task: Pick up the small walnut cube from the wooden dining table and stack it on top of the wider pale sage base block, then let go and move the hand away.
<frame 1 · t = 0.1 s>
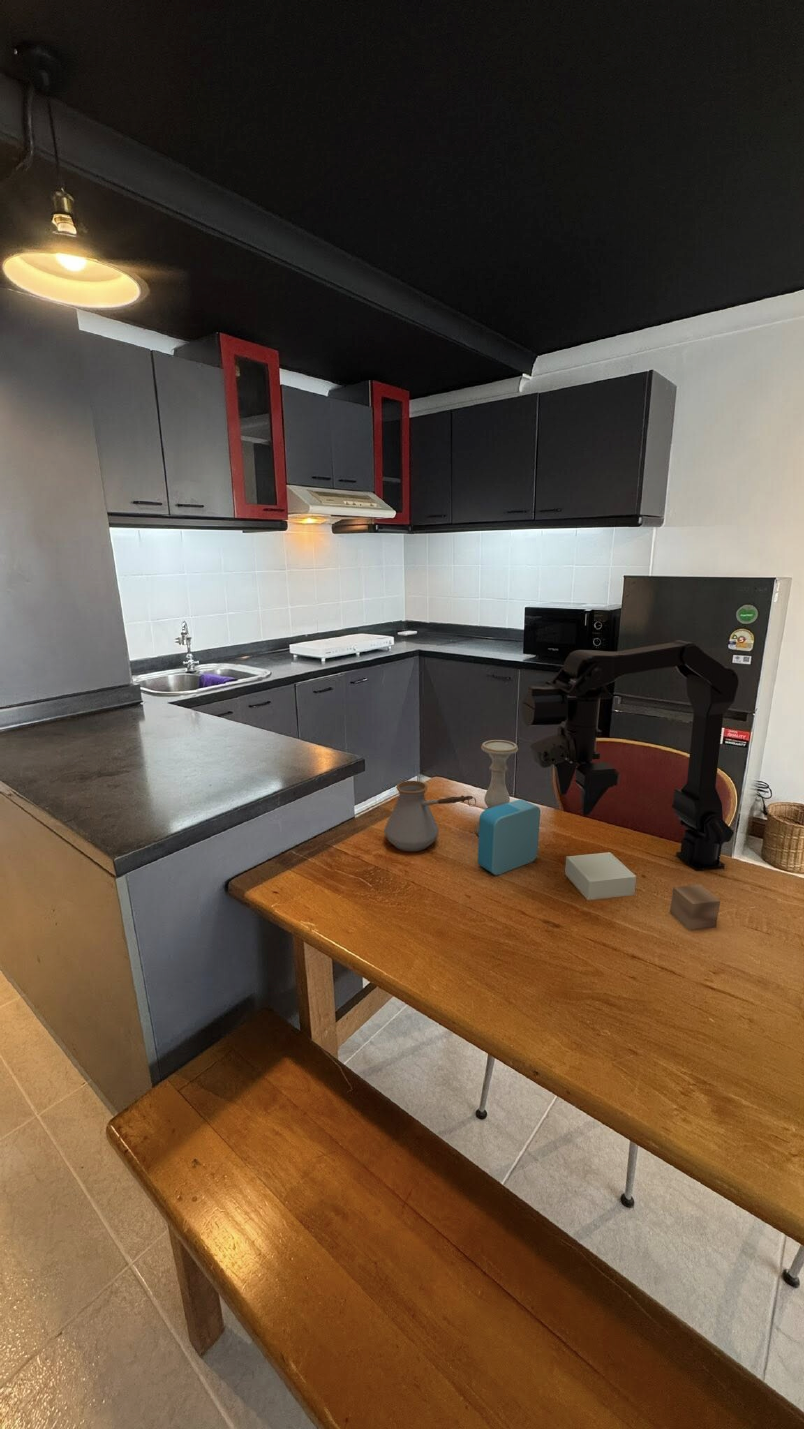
hand: (573, 804, 108), 15 cm above the table, fingers open, 9 cm apart
base block: (598, 885, 109), on the table
walnut cube: (692, 920, 98), on the table
candle holder: (495, 833, 128), on the table
blue rounded slab: (507, 864, 116), on the table
coffee pot: (429, 851, 121), on the table
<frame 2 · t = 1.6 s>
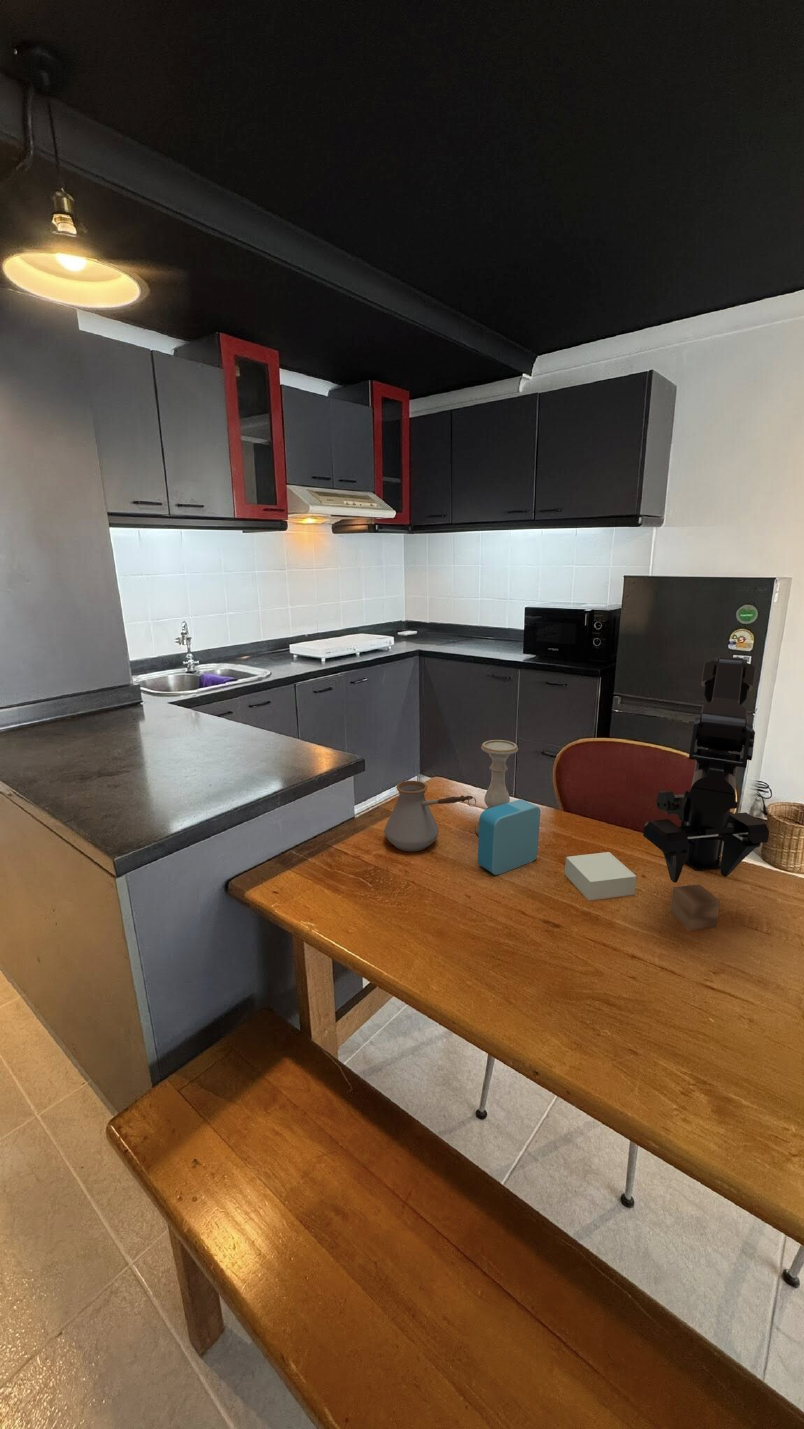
hand: (698, 878, 96), 8 cm above the table, fingers open, 9 cm apart
nothing on the table moved.
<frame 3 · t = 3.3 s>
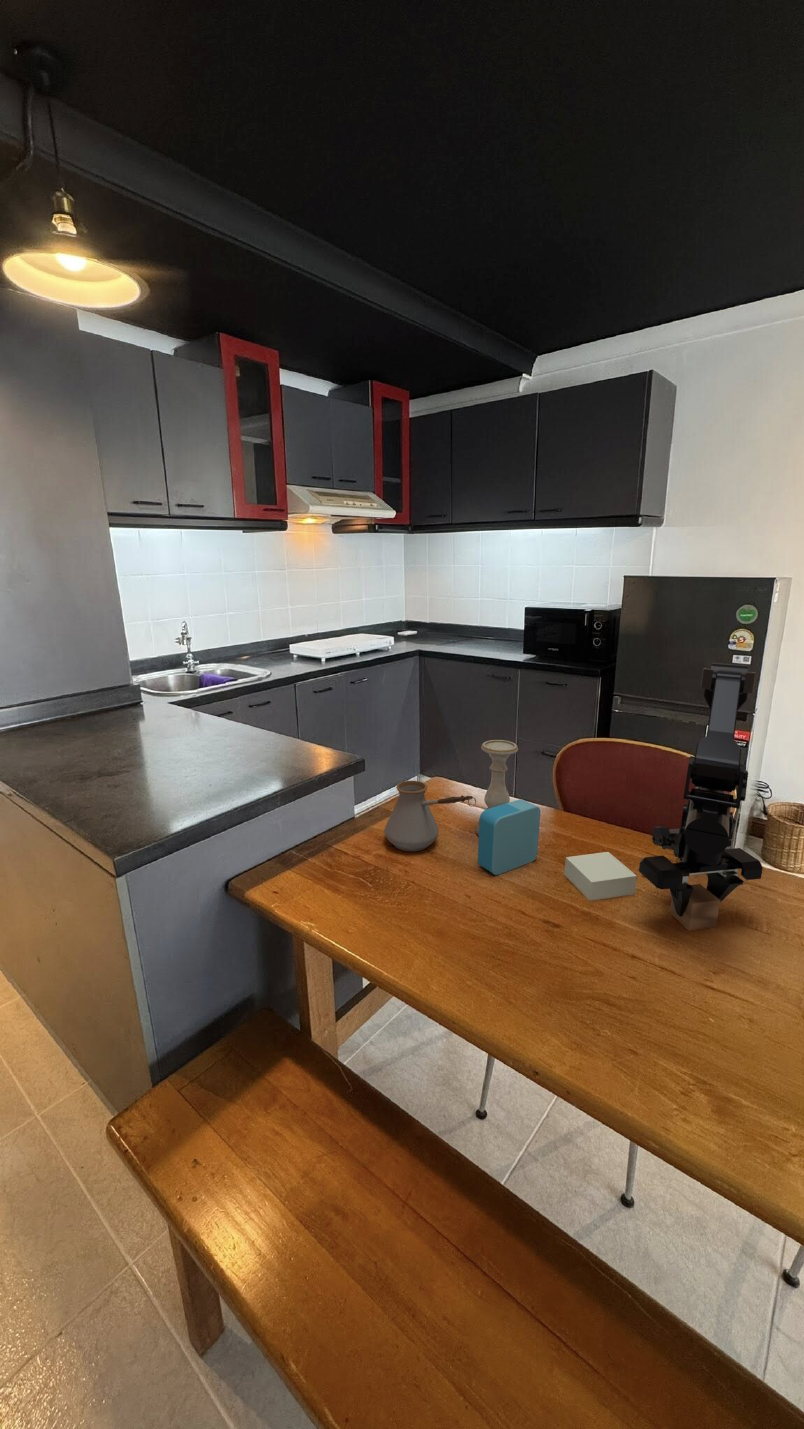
hand: (693, 913, 98), 1 cm above the table, fingers closed on walnut cube, 5 cm apart
walnut cube: (692, 919, 98), on the table, touching gripper
everything else where it was.
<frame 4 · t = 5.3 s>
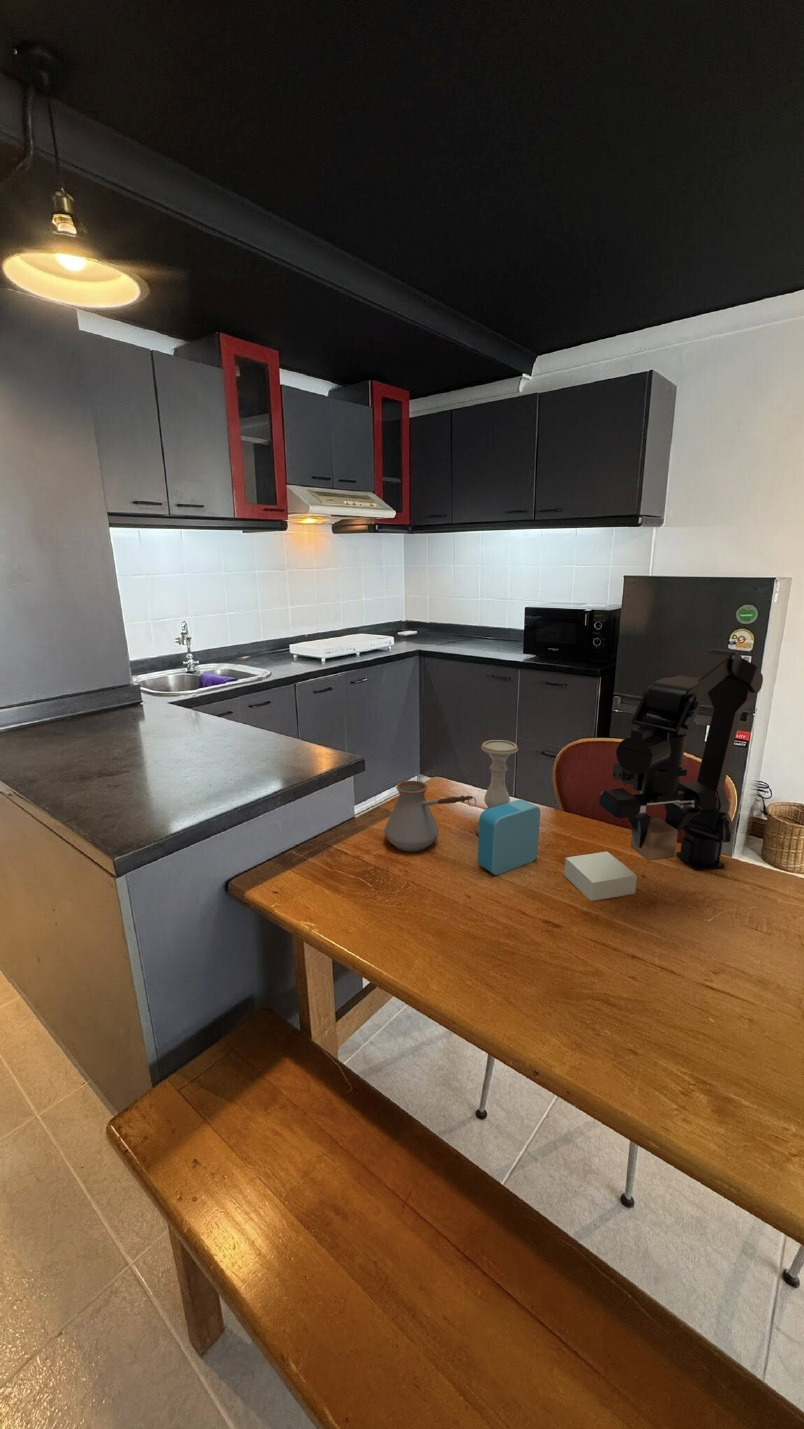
hand: (652, 845, 100), 11 cm above the table, fingers closed on walnut cube, 5 cm apart
walnut cube: (652, 852, 100), point 10 cm above the table, touching gripper
everything else where it was.
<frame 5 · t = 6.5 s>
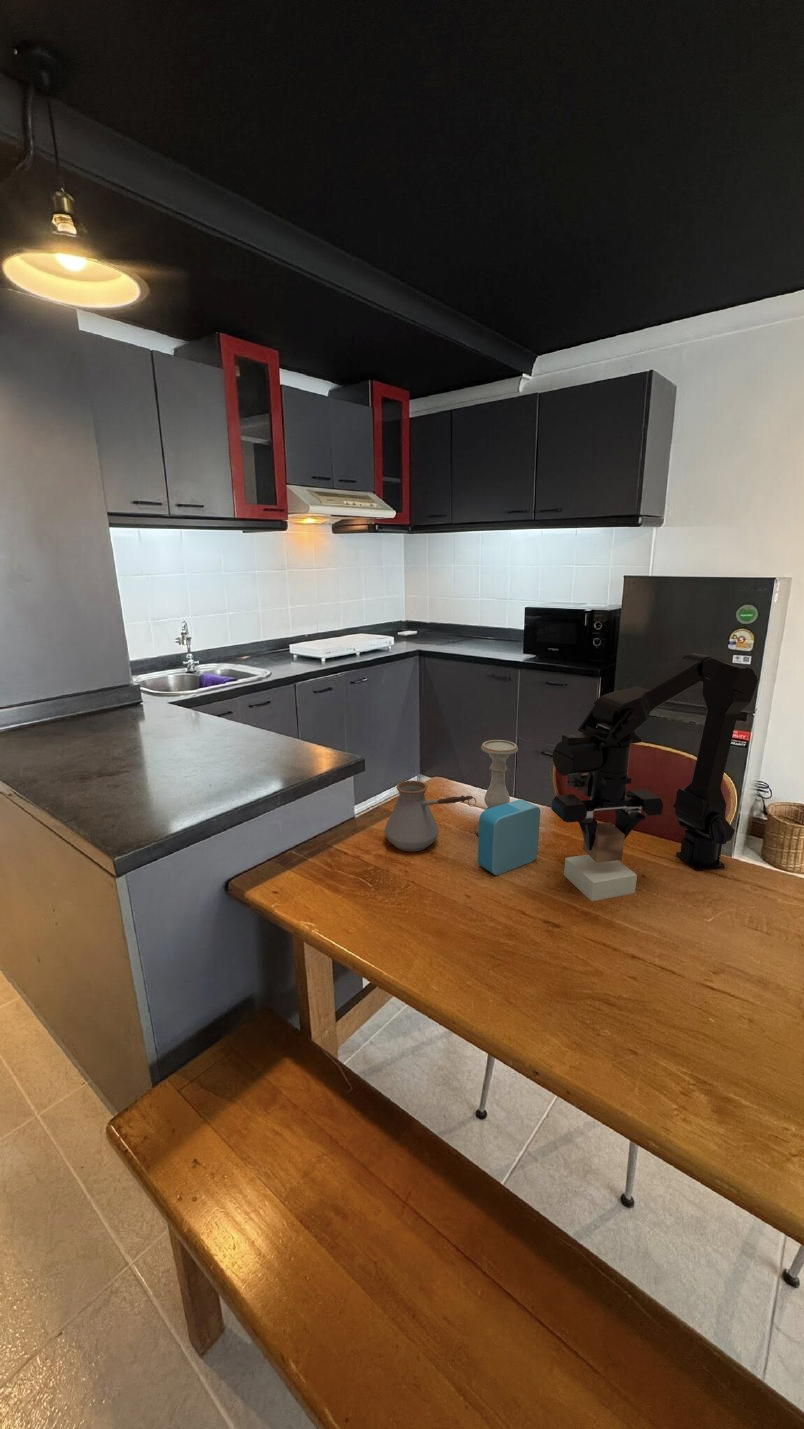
hand: (602, 848, 107), 7 cm above the table, fingers closed on walnut cube, 5 cm apart
walnut cube: (602, 854, 107), point 6 cm above the table, touching gripper
everything else where it was.
when the fingers open (6 cm above the table, at t = 7.5 s): walnut cube drops 1 cm, point 4 cm above the table.
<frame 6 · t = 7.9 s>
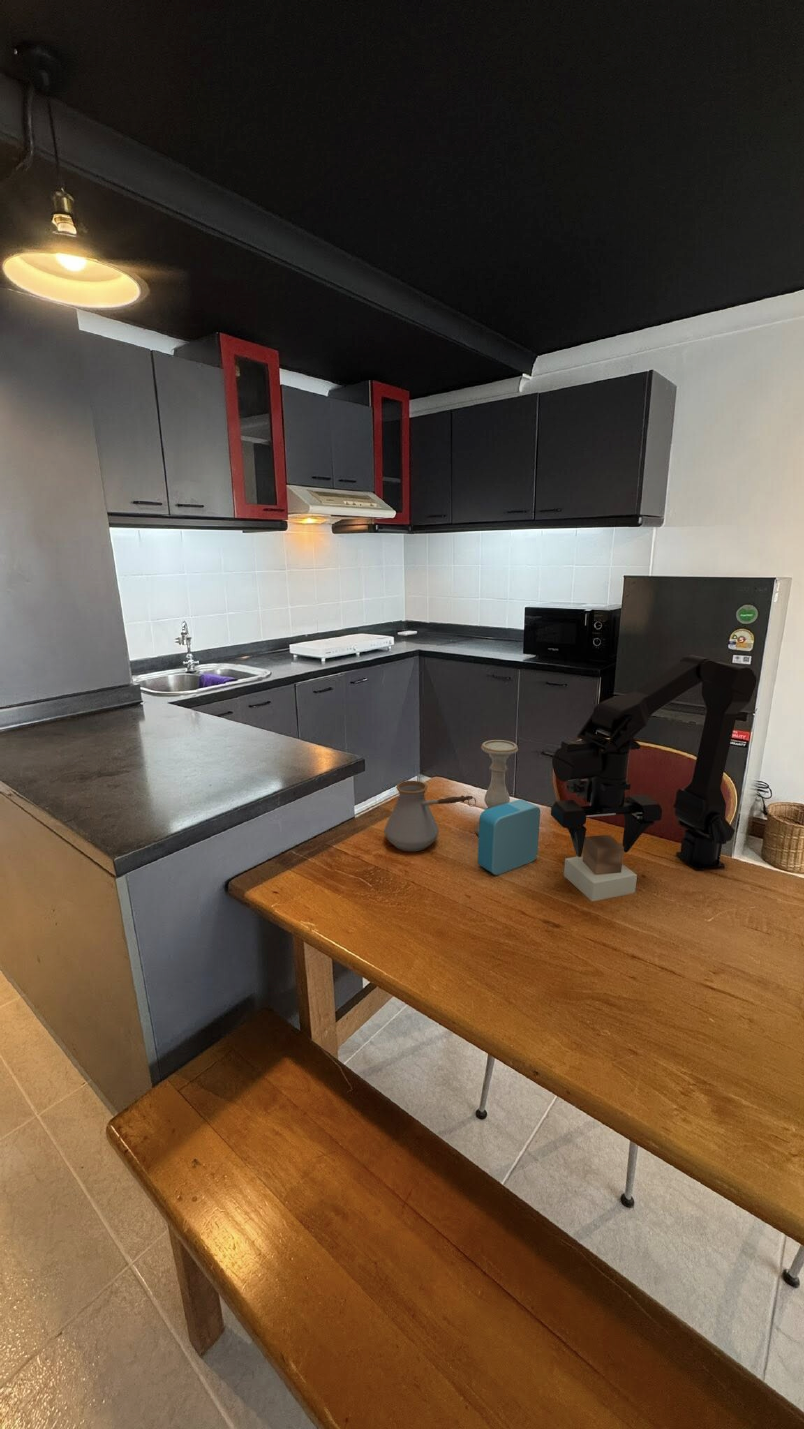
hand: (601, 853, 107), 6 cm above the table, fingers open, 9 cm apart
walnut cube: (601, 866, 107), point 4 cm above the table
everything else where it was.
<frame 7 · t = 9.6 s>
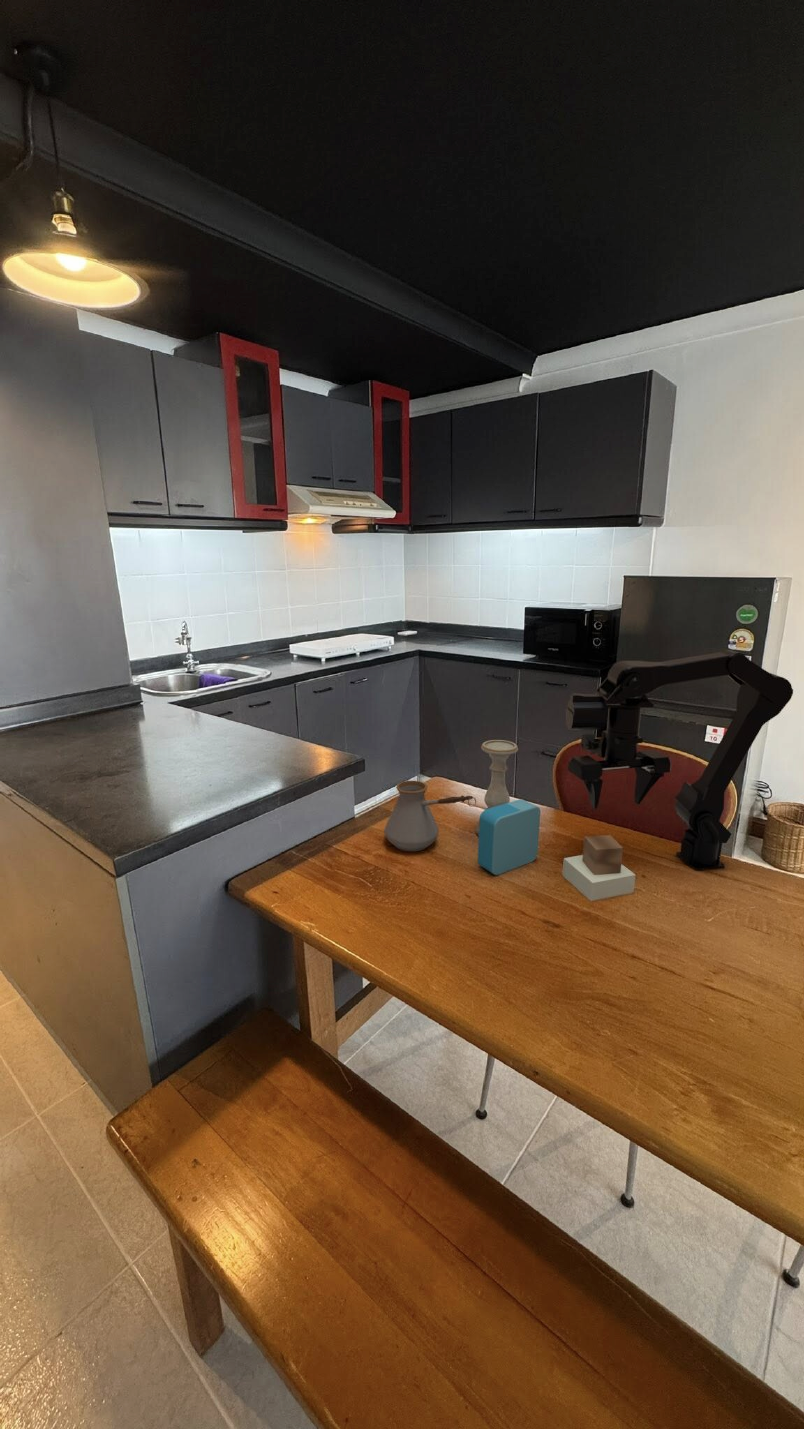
hand: (615, 805, 114), 12 cm above the table, fingers open, 9 cm apart
nothing on the table moved.
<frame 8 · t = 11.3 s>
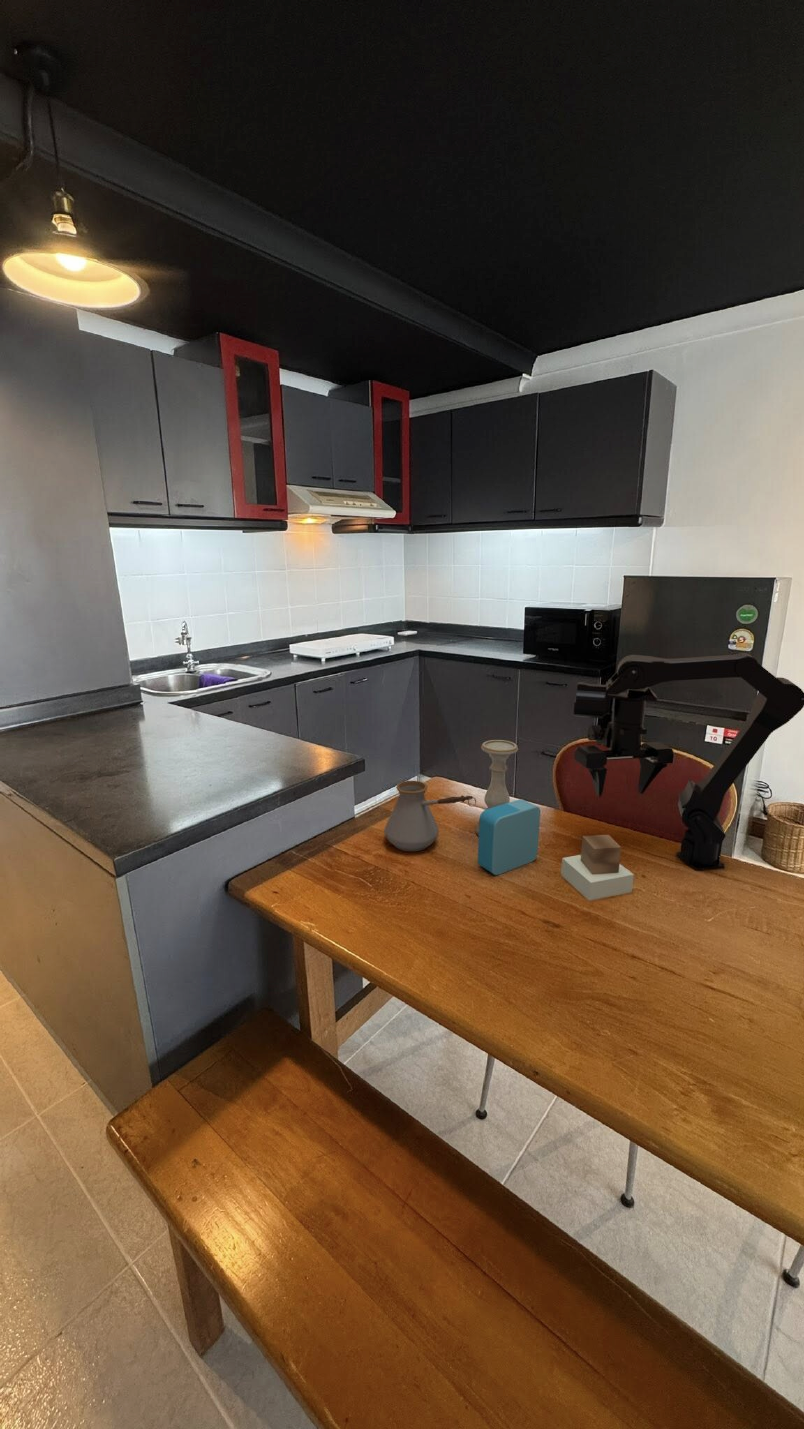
hand: (619, 794, 118), 12 cm above the table, fingers open, 9 cm apart
nothing on the table moved.
at the end: walnut cube 0.4 cm off-centre on the base block, point 4.0 cm above the base block's base; walnut cube tilted 0°; the gripper is holding nothing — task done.
